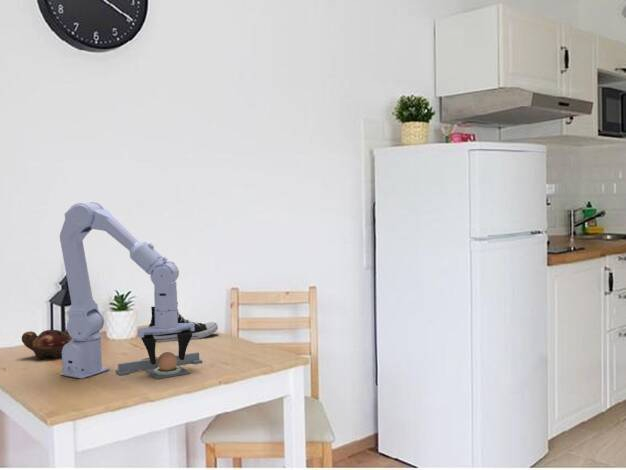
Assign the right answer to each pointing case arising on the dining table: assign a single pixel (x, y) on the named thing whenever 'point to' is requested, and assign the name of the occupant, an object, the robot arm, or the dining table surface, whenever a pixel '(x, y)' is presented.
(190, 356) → the grey long bar
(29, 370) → the dining table surface
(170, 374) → the pad
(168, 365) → the ball
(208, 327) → the sneaker
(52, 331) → the decorative turtle
